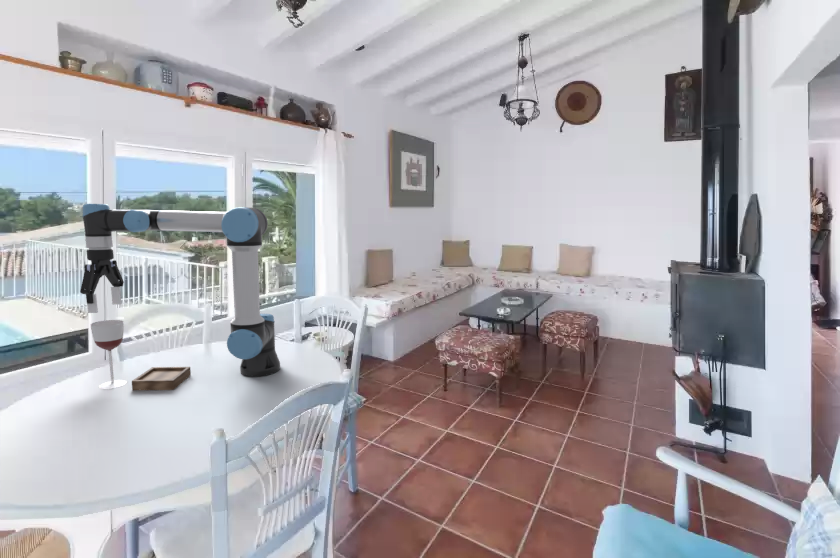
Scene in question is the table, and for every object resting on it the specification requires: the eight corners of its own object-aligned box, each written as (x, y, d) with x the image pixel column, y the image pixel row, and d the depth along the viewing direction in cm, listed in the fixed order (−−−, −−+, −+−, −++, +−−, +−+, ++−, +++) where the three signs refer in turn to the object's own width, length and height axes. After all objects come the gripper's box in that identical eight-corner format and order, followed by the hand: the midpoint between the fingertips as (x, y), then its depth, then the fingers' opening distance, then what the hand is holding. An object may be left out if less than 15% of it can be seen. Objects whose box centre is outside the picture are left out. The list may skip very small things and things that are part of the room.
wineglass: (113, 390, 154) (107, 327, 151) (89, 387, 156) (83, 325, 152) (135, 380, 163) (129, 320, 159) (112, 378, 165) (106, 319, 161)
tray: (190, 375, 169) (190, 366, 169) (173, 389, 156) (173, 380, 155) (152, 375, 168) (152, 367, 168) (132, 390, 154) (131, 381, 154)
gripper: (110, 245, 164) (115, 301, 167) (62, 251, 139) (69, 316, 142) (131, 245, 164) (136, 301, 168) (87, 251, 140) (93, 316, 143)
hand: (105, 308), depth 155 cm, fingers open, 13 cm apart
